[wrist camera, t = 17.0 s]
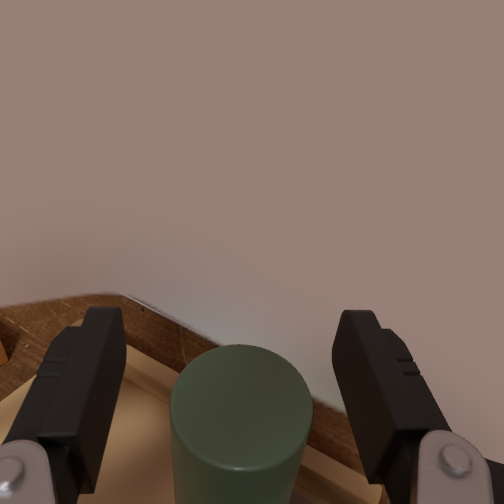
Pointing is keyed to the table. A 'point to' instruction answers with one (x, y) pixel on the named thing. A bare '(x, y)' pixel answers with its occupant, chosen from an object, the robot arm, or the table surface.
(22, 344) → the table surface
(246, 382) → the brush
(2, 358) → the brown block
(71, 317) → the table surface
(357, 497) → the tray
